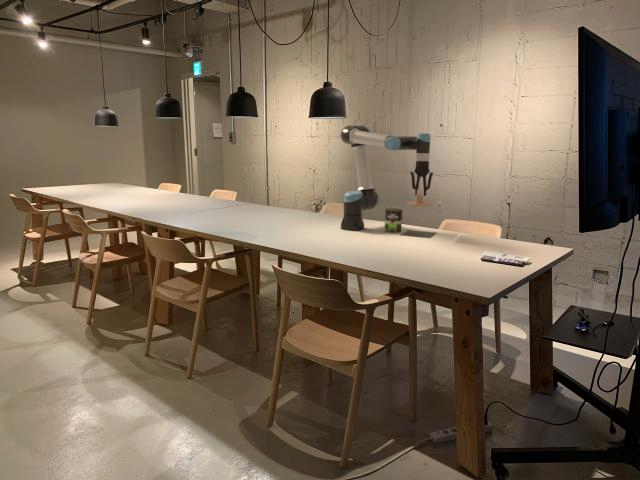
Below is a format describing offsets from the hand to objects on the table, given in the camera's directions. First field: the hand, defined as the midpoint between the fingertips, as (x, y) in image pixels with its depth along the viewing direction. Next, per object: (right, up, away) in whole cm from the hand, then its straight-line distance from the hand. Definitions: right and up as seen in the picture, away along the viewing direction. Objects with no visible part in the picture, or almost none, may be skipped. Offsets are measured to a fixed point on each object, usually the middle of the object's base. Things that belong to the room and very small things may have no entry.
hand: (420, 201), depth 279 cm
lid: (0, -2, 0) cm, 2 cm away
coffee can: (-14, -19, +11) cm, 26 cm away
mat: (0, -20, +4) cm, 20 cm away
